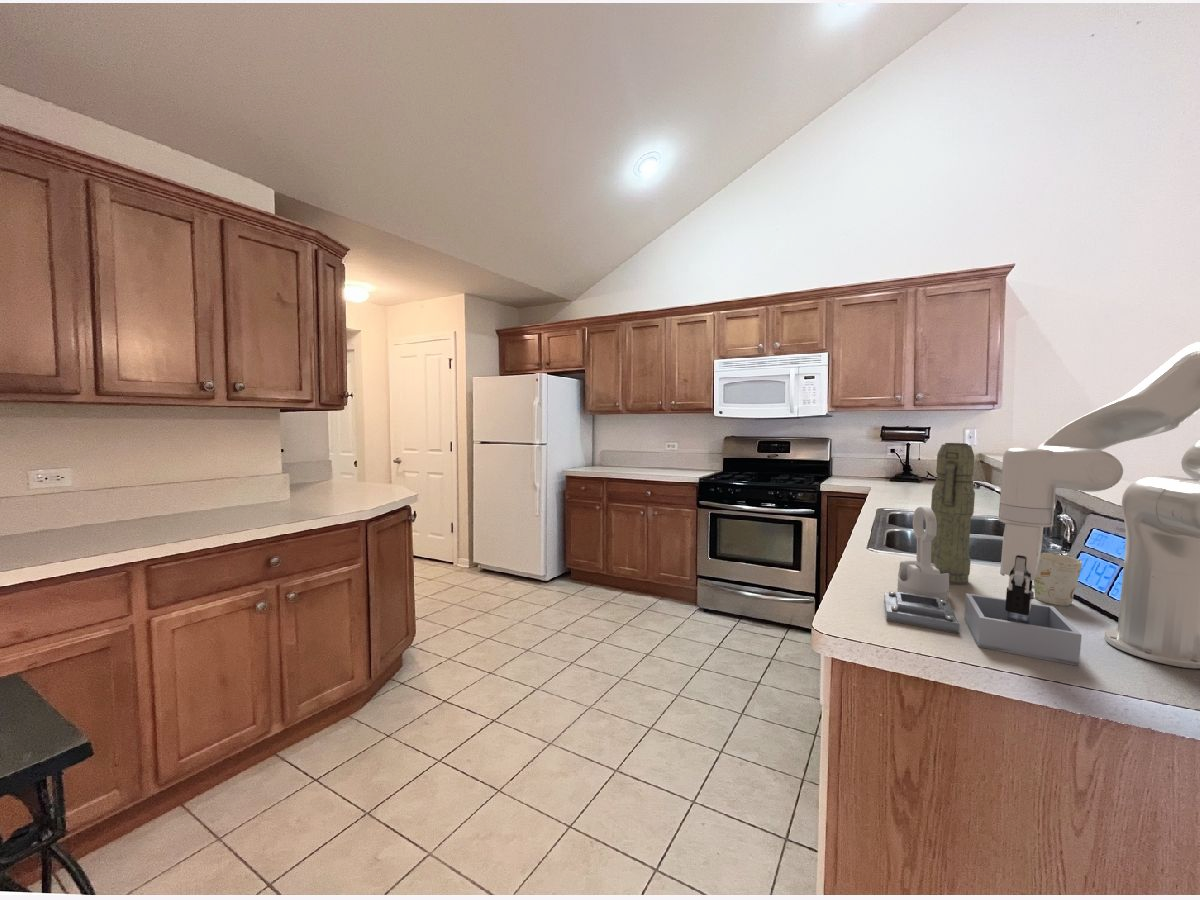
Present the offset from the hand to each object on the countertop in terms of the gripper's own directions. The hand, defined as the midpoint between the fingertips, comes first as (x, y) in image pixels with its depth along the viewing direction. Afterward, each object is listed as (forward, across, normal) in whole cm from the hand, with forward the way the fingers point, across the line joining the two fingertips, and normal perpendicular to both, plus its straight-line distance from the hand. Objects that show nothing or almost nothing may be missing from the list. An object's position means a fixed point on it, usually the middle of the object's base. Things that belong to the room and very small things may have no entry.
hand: (1018, 605), depth 90 cm
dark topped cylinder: (+6, 0, 0) cm, 6 cm away
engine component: (+7, -16, -18) cm, 25 cm away
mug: (+7, -32, +3) cm, 33 cm away
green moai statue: (+7, -32, -15) cm, 36 cm away
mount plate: (+7, 0, -16) cm, 17 cm away
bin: (+7, 0, 0) cm, 7 cm away
